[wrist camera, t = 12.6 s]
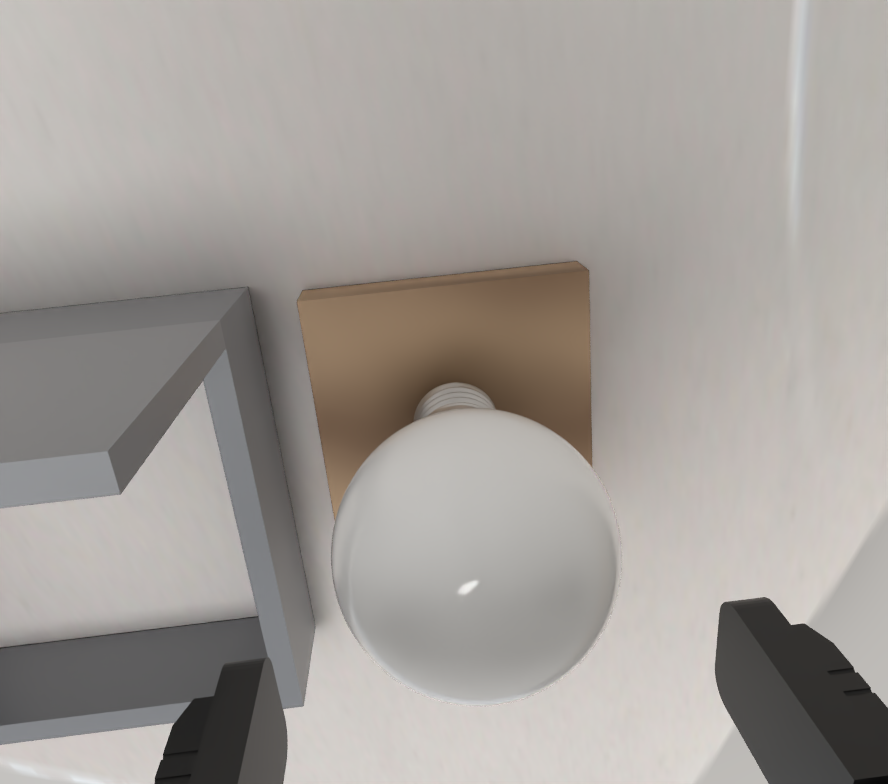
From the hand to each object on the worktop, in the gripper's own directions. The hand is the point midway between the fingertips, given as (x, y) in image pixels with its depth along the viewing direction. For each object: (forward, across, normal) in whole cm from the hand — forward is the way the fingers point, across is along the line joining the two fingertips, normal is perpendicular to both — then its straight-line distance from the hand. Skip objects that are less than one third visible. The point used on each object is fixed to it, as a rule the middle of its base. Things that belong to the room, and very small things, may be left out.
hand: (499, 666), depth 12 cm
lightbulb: (+12, 0, 0) cm, 12 cm away
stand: (+13, 0, 0) cm, 13 cm away
